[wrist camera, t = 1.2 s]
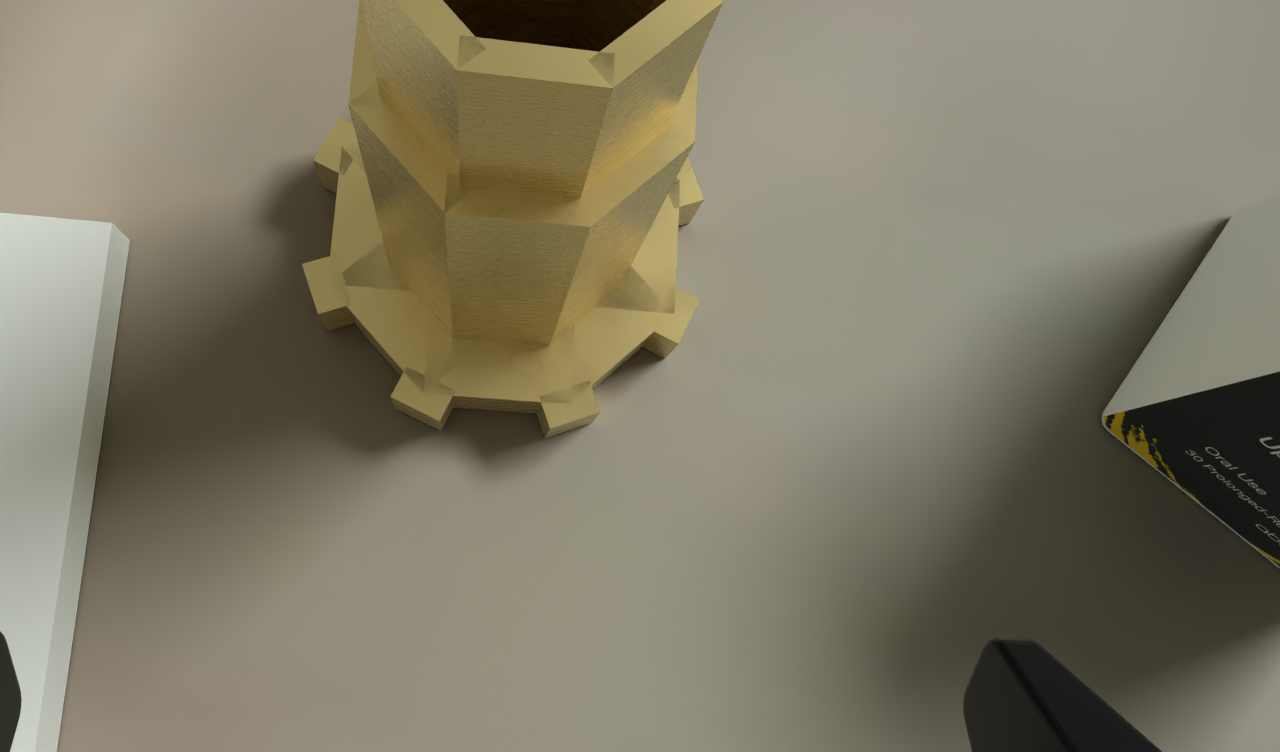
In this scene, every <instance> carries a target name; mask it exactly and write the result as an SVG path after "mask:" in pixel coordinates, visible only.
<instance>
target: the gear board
mask: <svg viewBox="0 0 1280 752" xmlns="http://www.w3.org/2000/svg"><path fill="white" fill-rule="evenodd" d="M129 244H130V240H129V239H128V238H127V237H126V236H125V235H124V234H123V233H122V232H121V231H120V230H119V229H118V228H117V227H116V226H115V225H114V224H113V223H107V222H96V221H85V220H74V219H63V218H52V217H41V216H30V215H19V214H8V213H0V632H1V633H2V634H3V635H4V636H5V639H6V641H7V644H8V648H9V651H10V655H11V658H12V661H13V665H14V668H15V672H16V675H17V679H18V682H19V686H20V690H21V699H22V701H21V712H20V717H19V722H18V725H17V729H16V732H15V736H14V739H13V743H12V746H11V750H10V752H57V746H58V739H59V732H60V725H61V718H62V711H63V704H64V697H65V690H66V683H67V676H68V669H69V663H70V656H71V649H72V642H73V635H74V628H75V621H76V614H77V607H78V600H79V593H80V586H81V579H82V572H83V565H84V558H85V551H86V544H87V537H88V530H89V523H90V516H91V509H92V502H93V495H94V488H95V481H96V474H97V467H98V460H99V453H100V446H101V439H102V432H103V425H104V418H105V411H106V404H107V397H108V390H109V383H110V376H111V369H112V362H113V355H114V348H115V341H116V334H117V327H118V320H119V313H120V306H121V299H122V292H123V285H124V278H125V271H126V264H127V257H128V251H129Z"/></svg>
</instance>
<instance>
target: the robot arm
mask: <svg viewBox="0 0 1280 752" xmlns="http://www.w3.org/2000/svg"><path fill="white" fill-rule="evenodd" d="M21 701H22V699H21V690H20V686H19V682H18V679H17V675H16V672H15V668H14V665H13V661H12V658H11V655H10V651H9V648H8V644H7V641H6V639H5V636H4V635H3V634H2V633H1V632H0V752H10V750H11V746H12V743H13V739H14V736H15V732H16V729H17V725H18V722H19V717H20V712H21ZM963 711H964V718H965V723H966V727H967V732H968V736H969V741H970V745H971V750H972V752H1162V751H1161V750H1160V749H1158V748H1157V747H1156V746H1155V745H1154V744H1153V743H1152V742H1150V741H1149V740H1148V739H1147V738H1146V737H1145V736H1144V735H1142V734H1141V733H1140V732H1139V731H1138V730H1137V729H1135V728H1134V727H1133V726H1132V725H1131V724H1130V723H1129V722H1127V721H1126V720H1125V719H1124V718H1123V717H1122V716H1121V715H1119V714H1118V713H1117V712H1116V711H1115V710H1114V709H1113V708H1111V707H1110V706H1109V705H1108V704H1107V703H1106V702H1104V701H1103V700H1102V699H1101V698H1100V697H1099V696H1098V695H1096V694H1095V693H1094V692H1093V691H1092V690H1091V689H1090V688H1088V687H1087V686H1086V685H1085V684H1084V683H1083V682H1082V681H1080V680H1079V679H1078V678H1077V677H1076V676H1075V675H1073V674H1072V673H1071V672H1070V671H1069V670H1068V669H1067V668H1065V667H1064V666H1063V665H1062V664H1061V663H1060V662H1059V661H1057V660H1056V659H1055V658H1054V657H1053V656H1052V655H1051V654H1049V653H1048V652H1047V651H1046V650H1045V649H1044V648H1042V647H1041V646H1040V645H1039V644H1038V643H1036V642H1035V641H1033V640H1031V639H1028V638H992V639H991V640H989V641H988V642H987V643H986V644H985V646H984V648H983V650H982V652H981V655H980V657H979V659H978V662H977V664H976V666H975V669H974V671H973V674H972V676H971V678H970V681H969V683H968V685H967V688H966V690H965V694H964V700H963Z"/></svg>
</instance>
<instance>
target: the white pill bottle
mask: <svg viewBox="0 0 1280 752" xmlns="http://www.w3.org/2000/svg"><path fill="white" fill-rule="evenodd" d="M1101 419H1102V424H1103V426H1104V427H1105V428H1106V430H1107V431H1108V432H1110V433H1111V434H1112V435H1113V436H1115V437H1116V438H1117V439H1118V440H1120V441H1121V442H1122V443H1123V444H1125V445H1126V446H1127V447H1128V448H1130V449H1131V450H1132V451H1133V452H1135V453H1136V454H1137V455H1138V456H1139V457H1141V458H1142V459H1143V460H1144V461H1146V462H1147V463H1148V464H1149V465H1151V466H1152V467H1153V468H1154V469H1156V470H1157V471H1158V472H1159V473H1161V474H1162V475H1163V476H1164V477H1166V478H1167V479H1168V480H1169V481H1171V482H1172V483H1173V484H1174V485H1176V486H1177V487H1178V488H1179V489H1181V490H1182V491H1183V492H1184V493H1186V494H1187V495H1188V496H1189V497H1191V498H1192V499H1193V500H1194V501H1196V502H1197V503H1198V504H1199V505H1201V506H1202V507H1203V508H1204V509H1206V510H1207V511H1208V512H1209V513H1211V514H1212V515H1213V516H1214V517H1216V518H1217V519H1218V520H1219V521H1221V522H1222V523H1223V524H1224V525H1226V526H1227V527H1228V528H1229V529H1231V530H1232V531H1233V532H1234V533H1236V534H1237V535H1238V536H1239V537H1241V538H1242V539H1243V540H1244V541H1246V542H1247V543H1248V544H1249V545H1251V546H1252V547H1253V548H1254V549H1255V550H1257V551H1258V552H1259V553H1260V554H1262V555H1263V556H1264V557H1265V558H1267V559H1268V560H1269V561H1270V562H1272V563H1273V564H1274V565H1275V566H1277V567H1278V568H1279V569H1280V190H1278V191H1276V192H1274V193H1272V194H1270V195H1268V196H1265V197H1263V198H1261V199H1259V200H1257V201H1255V202H1253V203H1251V204H1249V205H1247V206H1245V207H1243V208H1241V209H1239V210H1238V211H1237V212H1236V213H1235V214H1234V215H1233V216H1232V217H1231V218H1230V220H1229V222H1228V223H1227V225H1226V226H1225V228H1224V229H1223V231H1222V232H1221V234H1220V235H1219V237H1218V238H1217V240H1216V241H1215V243H1214V244H1213V246H1212V247H1211V249H1210V250H1209V252H1208V253H1207V255H1206V256H1205V258H1204V259H1203V261H1202V263H1201V264H1200V266H1199V267H1198V269H1197V270H1196V272H1195V273H1194V275H1193V276H1192V278H1191V279H1190V281H1189V282H1188V284H1187V285H1186V287H1185V288H1184V290H1183V291H1182V293H1181V294H1180V296H1179V297H1178V299H1177V301H1176V302H1175V304H1174V305H1173V307H1172V308H1171V310H1170V311H1169V313H1168V314H1167V316H1166V317H1165V319H1164V320H1163V322H1162V323H1161V325H1160V326H1159V328H1158V329H1157V331H1156V332H1155V334H1154V335H1153V337H1152V338H1151V340H1150V342H1149V343H1148V345H1147V346H1146V348H1145V349H1144V351H1143V352H1142V354H1141V355H1140V357H1139V358H1138V360H1137V361H1136V363H1135V364H1134V366H1133V367H1132V369H1131V370H1130V372H1129V373H1128V375H1127V376H1126V378H1125V379H1124V381H1123V383H1122V384H1121V386H1120V387H1119V389H1118V390H1117V392H1116V393H1115V395H1114V396H1113V398H1112V399H1111V401H1110V402H1109V404H1108V405H1107V407H1106V408H1105V410H1104V411H1103V414H1102V418H1101Z"/></svg>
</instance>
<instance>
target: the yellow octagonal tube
mask: <svg viewBox="0 0 1280 752" xmlns="http://www.w3.org/2000/svg"><path fill="white" fill-rule="evenodd" d="M722 3H723V0H360V3H359V12H358V22H357V31H356V40H355V50H354V59H353V69H352V78H351V87H350V97H349V108H350V112H351V116H352V120H353V123H351V122H349V121H347V120H345V119H343V118H341V117H339V118H338V120H337V121H336V123H335V125H334V126H333V128H332V130H331V131H330V133H329V135H328V137H327V138H326V140H325V142H324V143H323V145H322V147H321V148H320V150H319V152H318V153H317V155H316V157H315V159H314V160H313V161H314V163H315V166H316V169H317V171H318V174H319V177H320V179H321V182H322V185H323V187H324V188H326V189H328V190H330V191H332V192H334V193H336V194H337V196H336V205H335V214H334V224H333V233H332V242H331V252H330V256H328V257H325V258H321V259H318V260H314V261H311V262H307V263H304V264H302V266H303V269H304V272H305V275H306V279H307V282H308V285H309V288H310V291H311V294H312V297H313V300H314V304H315V307H316V310H317V313H318V315H319V317H320V319H321V321H322V322H323V324H324V326H325V328H326V329H327V331H331V330H335V329H338V328H341V327H345V326H348V325H351V324H355V325H356V326H357V327H358V329H359V330H360V331H361V332H362V333H363V334H364V335H365V336H366V338H367V339H368V340H369V341H370V342H371V343H372V344H373V346H374V347H375V348H376V349H377V350H378V351H379V352H380V354H381V355H382V356H383V357H384V358H385V359H386V360H387V362H388V363H389V364H390V365H391V366H392V367H393V368H394V370H395V371H396V372H397V373H398V374H399V375H400V376H401V378H400V380H399V382H398V383H397V385H396V387H395V389H394V391H393V393H392V395H391V396H390V397H391V400H392V402H393V404H394V407H395V409H397V410H399V411H401V412H403V413H405V414H407V415H409V416H411V417H413V418H415V419H417V420H419V421H421V422H423V423H425V424H427V425H430V426H432V427H434V428H436V429H438V430H440V431H442V429H443V427H444V426H445V424H446V422H447V420H448V418H449V416H450V414H451V412H452V410H453V408H466V409H480V410H494V411H508V412H522V413H536V414H537V417H538V420H539V423H540V426H541V429H542V432H543V435H544V438H548V437H551V436H554V435H557V434H560V433H563V432H566V431H569V430H572V429H575V428H578V427H581V426H584V425H587V424H590V423H592V422H593V421H594V419H595V418H596V417H597V416H598V414H599V413H600V409H599V407H598V404H597V401H596V398H595V395H594V392H593V389H594V388H596V387H597V386H598V385H599V384H600V383H601V382H602V381H604V380H605V379H606V378H607V377H608V376H609V375H611V374H612V373H613V372H614V371H615V370H616V369H617V368H619V367H620V366H621V365H622V364H623V363H624V362H626V361H627V360H628V359H629V358H630V357H631V356H633V355H634V354H635V353H636V352H637V351H638V350H639V349H641V348H642V347H643V348H645V349H647V350H649V351H651V352H653V353H655V354H657V355H659V356H661V357H663V358H666V357H667V356H668V355H669V354H670V353H671V352H672V350H673V349H674V348H675V347H676V346H677V345H678V344H679V342H680V340H681V338H682V335H683V333H684V331H685V329H686V327H687V325H688V323H689V321H690V319H691V317H692V314H693V312H694V310H695V308H696V306H697V304H698V302H699V300H700V299H699V298H697V297H695V296H693V295H691V294H689V293H687V292H685V291H683V290H681V289H679V288H677V287H676V268H677V245H678V226H681V225H684V224H688V223H690V221H691V220H692V218H693V216H694V215H695V213H696V212H697V210H698V208H699V207H700V205H701V203H702V202H703V200H704V199H703V196H702V194H701V191H700V188H699V186H698V183H697V180H696V177H695V175H694V172H693V169H692V167H691V164H690V161H689V159H688V154H689V152H690V150H691V148H692V146H693V144H694V143H695V121H696V97H697V73H698V58H699V56H700V53H701V51H702V49H703V46H704V44H705V42H706V40H707V37H708V35H709V33H710V31H711V28H712V26H713V24H714V22H715V19H716V17H717V15H718V12H719V10H720V8H721V6H722Z"/></svg>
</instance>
